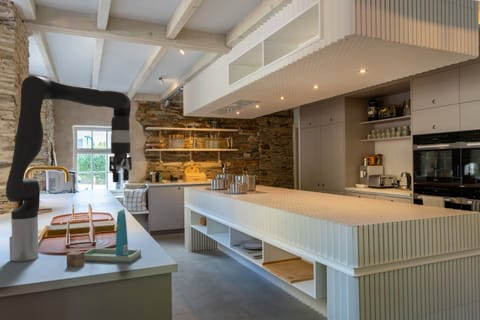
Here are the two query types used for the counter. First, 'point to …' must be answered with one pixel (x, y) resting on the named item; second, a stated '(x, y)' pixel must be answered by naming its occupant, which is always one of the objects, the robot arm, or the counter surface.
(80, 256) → the walnut block
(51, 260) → the counter surface
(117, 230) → the tube
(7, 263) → the counter surface
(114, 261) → the tray
